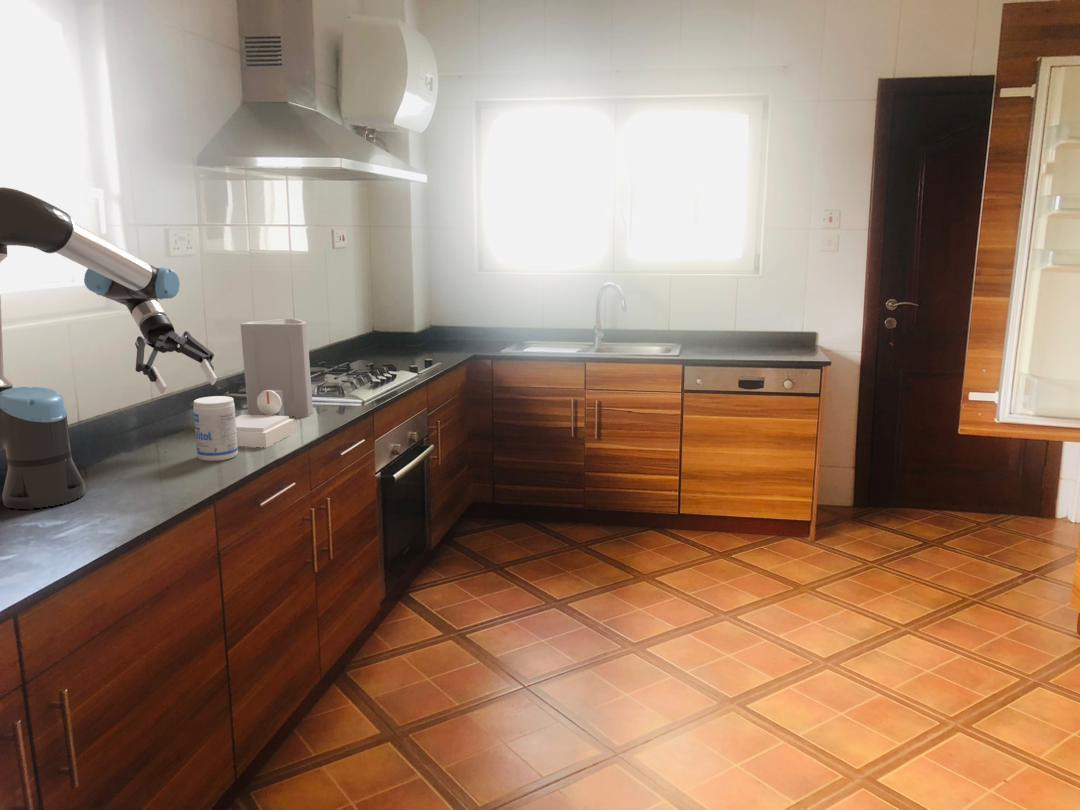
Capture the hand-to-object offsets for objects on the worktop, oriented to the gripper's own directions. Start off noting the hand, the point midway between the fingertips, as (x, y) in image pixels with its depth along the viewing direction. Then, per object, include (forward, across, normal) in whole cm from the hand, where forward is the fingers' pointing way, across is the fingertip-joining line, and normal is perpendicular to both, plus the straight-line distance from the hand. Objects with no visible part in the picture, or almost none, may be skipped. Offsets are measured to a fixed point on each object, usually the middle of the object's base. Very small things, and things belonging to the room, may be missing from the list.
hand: (189, 385), depth 211 cm
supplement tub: (+20, 0, -4) cm, 20 cm away
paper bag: (-2, -42, -26) cm, 49 cm away
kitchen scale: (+13, -18, -11) cm, 24 cm away
